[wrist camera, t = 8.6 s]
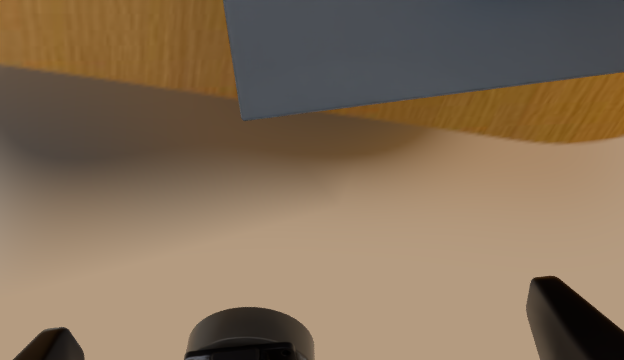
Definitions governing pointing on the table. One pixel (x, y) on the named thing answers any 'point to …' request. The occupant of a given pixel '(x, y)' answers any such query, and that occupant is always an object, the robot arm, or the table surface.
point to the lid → (411, 49)
